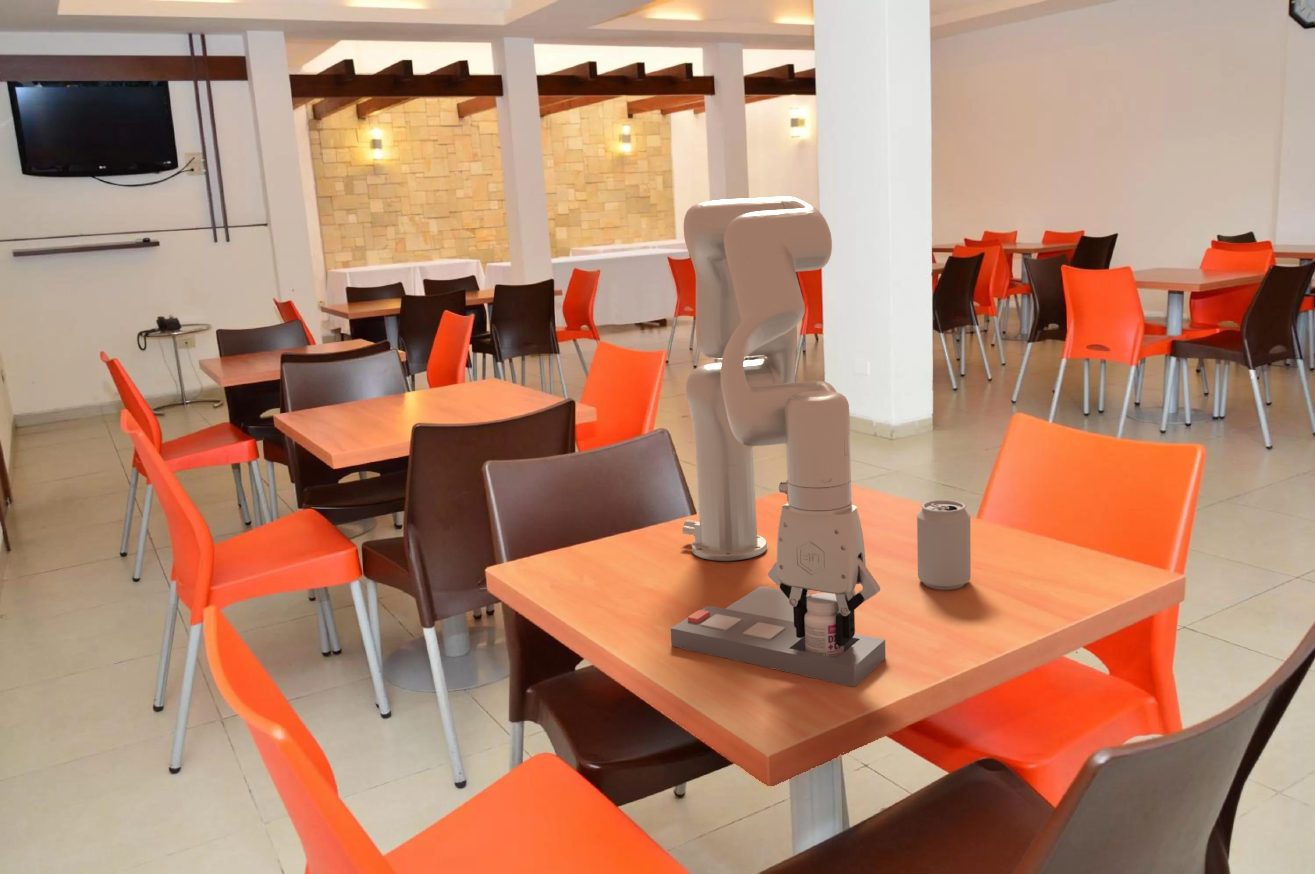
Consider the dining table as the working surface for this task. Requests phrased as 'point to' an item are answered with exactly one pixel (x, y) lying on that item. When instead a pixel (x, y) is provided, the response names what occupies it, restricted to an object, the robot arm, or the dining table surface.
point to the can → (943, 544)
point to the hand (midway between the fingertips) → (824, 636)
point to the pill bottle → (822, 625)
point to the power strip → (774, 645)
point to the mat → (765, 604)
